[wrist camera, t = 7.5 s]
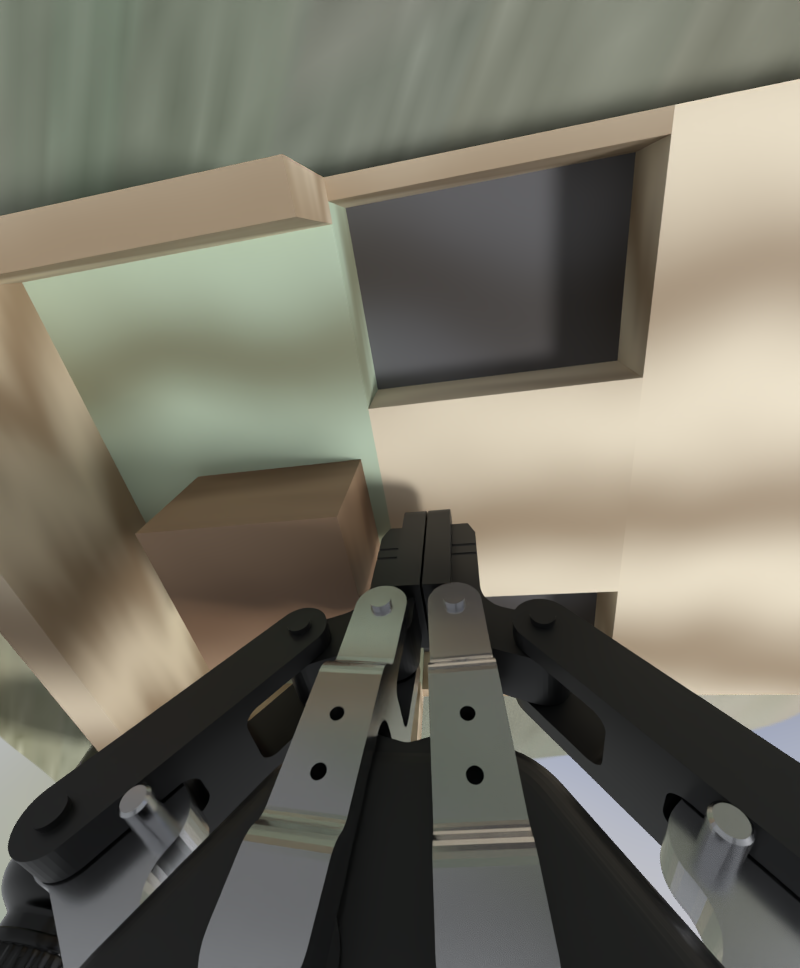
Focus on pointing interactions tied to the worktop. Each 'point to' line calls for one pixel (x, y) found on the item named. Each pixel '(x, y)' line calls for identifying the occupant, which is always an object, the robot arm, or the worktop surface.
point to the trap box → (425, 385)
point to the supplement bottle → (29, 918)
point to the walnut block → (263, 550)
